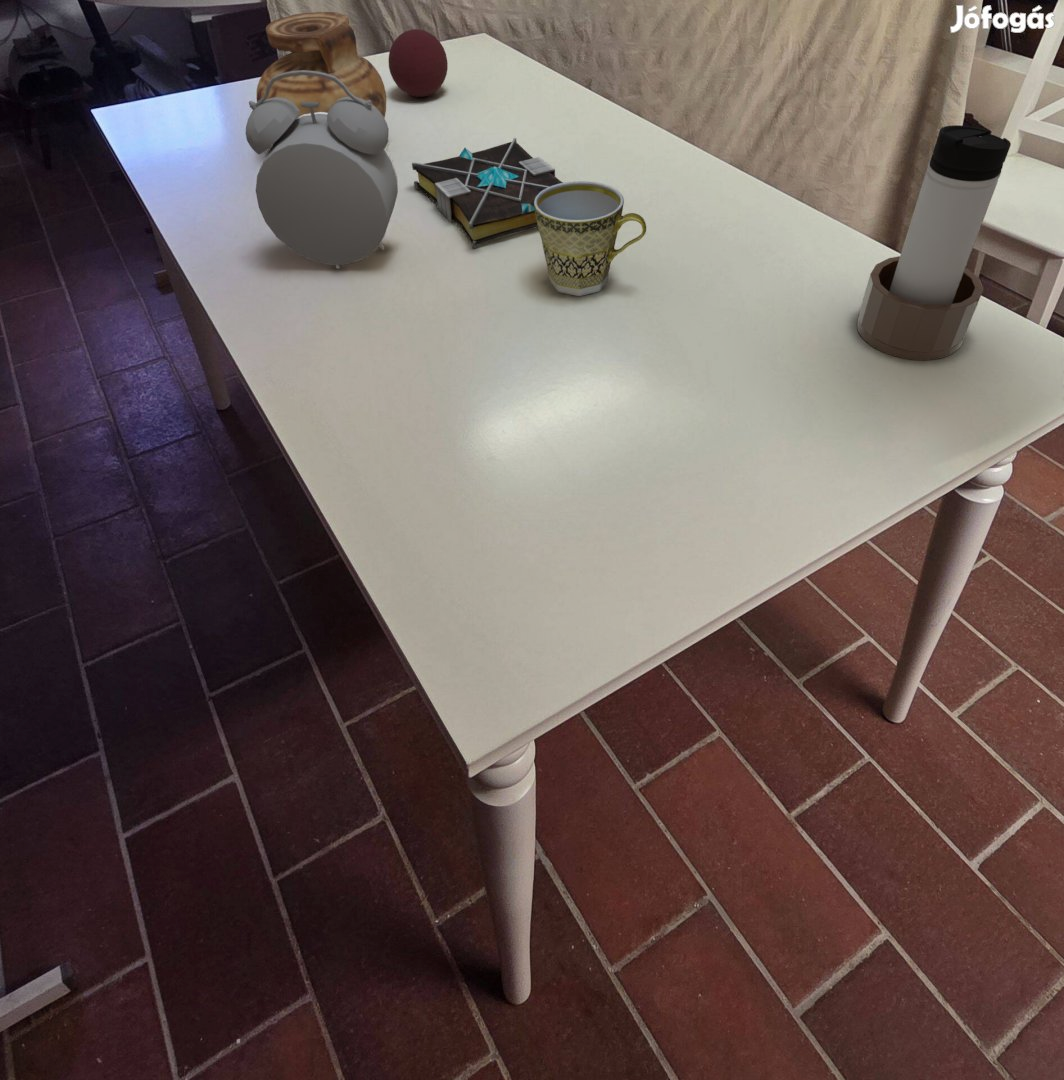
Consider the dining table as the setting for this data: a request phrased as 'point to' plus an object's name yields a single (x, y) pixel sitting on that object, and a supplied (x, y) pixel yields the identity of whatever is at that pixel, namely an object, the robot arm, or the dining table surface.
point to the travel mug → (949, 214)
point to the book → (487, 189)
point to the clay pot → (319, 62)
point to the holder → (915, 317)
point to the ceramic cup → (581, 233)
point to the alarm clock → (324, 174)
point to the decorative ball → (418, 63)
